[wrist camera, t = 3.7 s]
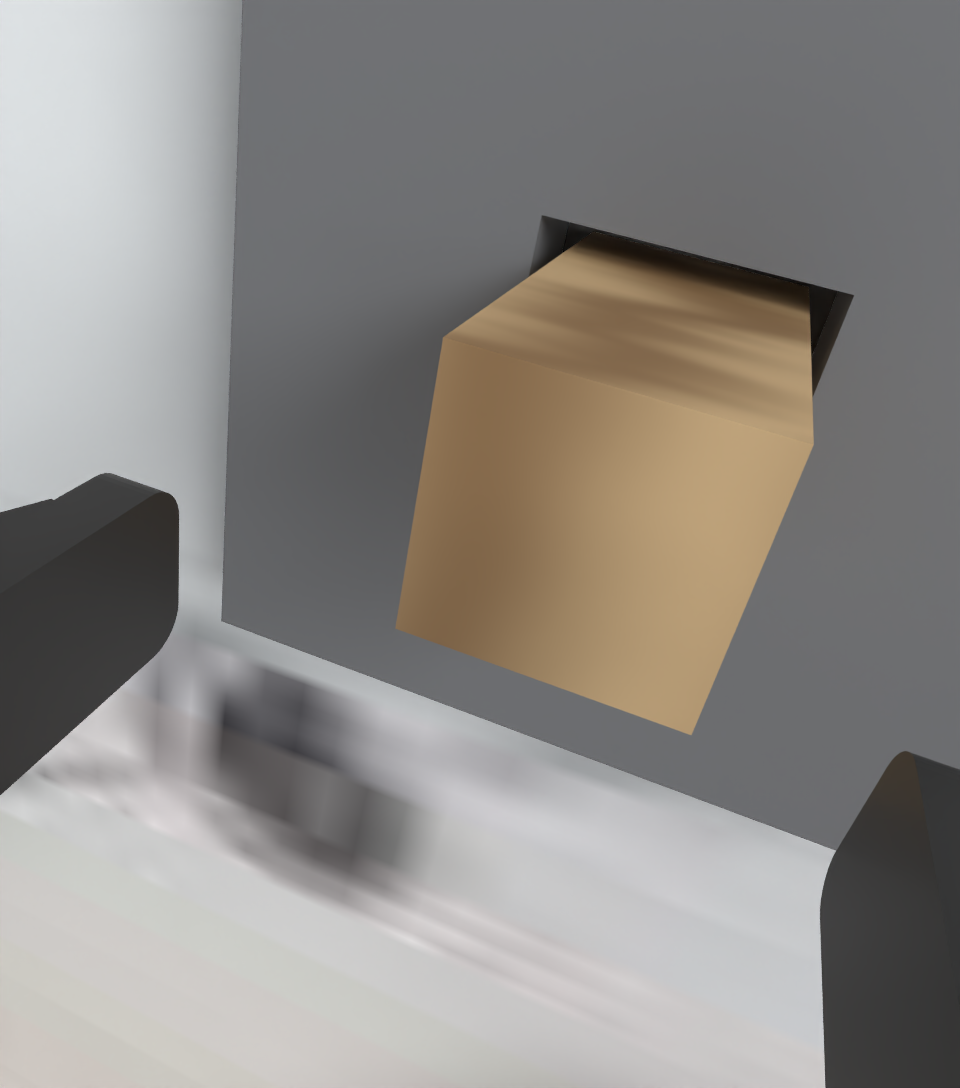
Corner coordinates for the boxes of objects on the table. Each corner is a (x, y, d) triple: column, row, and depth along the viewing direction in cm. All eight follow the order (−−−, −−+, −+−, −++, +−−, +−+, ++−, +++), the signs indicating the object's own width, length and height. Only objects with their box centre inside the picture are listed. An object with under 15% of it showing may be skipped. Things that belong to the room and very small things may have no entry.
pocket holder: (1450, -55, 14) (1593, -85, 11) (910, 799, 24) (922, 882, 22) (331, -237, 18) (253, -291, 15) (273, 572, 28) (221, 620, 25)
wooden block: (809, 286, 19) (813, 444, 11) (734, 483, 22) (691, 735, 13) (593, 231, 20) (443, 337, 12) (546, 426, 23) (395, 628, 14)
